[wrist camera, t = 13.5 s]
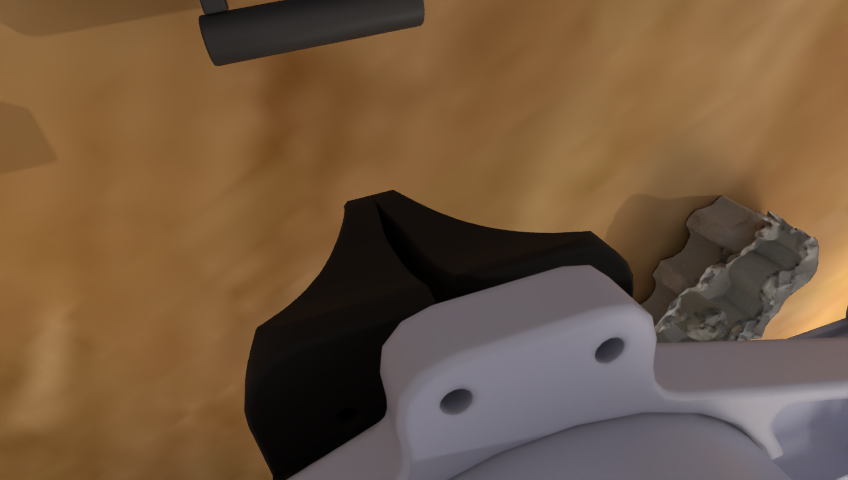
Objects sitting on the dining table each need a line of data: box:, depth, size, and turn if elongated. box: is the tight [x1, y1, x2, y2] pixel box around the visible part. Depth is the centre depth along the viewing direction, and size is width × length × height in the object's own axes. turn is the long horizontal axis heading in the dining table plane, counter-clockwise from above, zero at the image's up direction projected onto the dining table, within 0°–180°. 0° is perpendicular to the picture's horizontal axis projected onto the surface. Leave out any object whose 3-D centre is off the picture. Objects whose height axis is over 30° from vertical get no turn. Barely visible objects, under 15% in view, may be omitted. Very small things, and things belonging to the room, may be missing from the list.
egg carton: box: [640, 196, 819, 343], centre depth 29 cm, size 11×8×4 cm
